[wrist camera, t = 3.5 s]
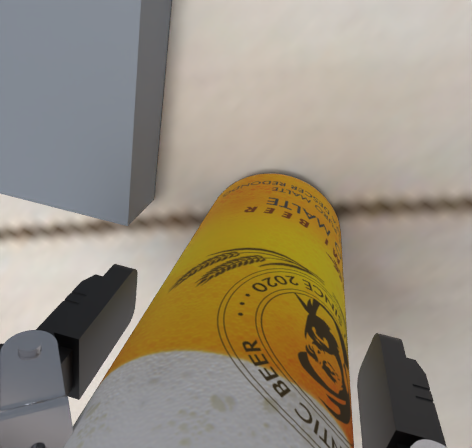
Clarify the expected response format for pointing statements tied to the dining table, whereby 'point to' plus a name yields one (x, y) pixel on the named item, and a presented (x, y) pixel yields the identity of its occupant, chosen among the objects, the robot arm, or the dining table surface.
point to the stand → (82, 103)
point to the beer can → (238, 335)
